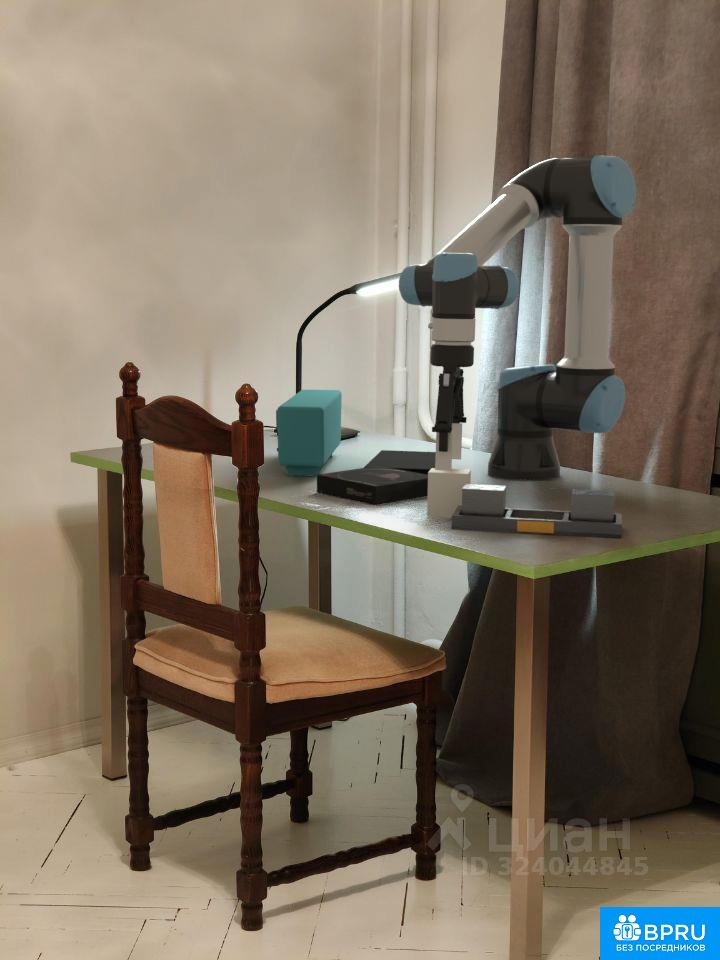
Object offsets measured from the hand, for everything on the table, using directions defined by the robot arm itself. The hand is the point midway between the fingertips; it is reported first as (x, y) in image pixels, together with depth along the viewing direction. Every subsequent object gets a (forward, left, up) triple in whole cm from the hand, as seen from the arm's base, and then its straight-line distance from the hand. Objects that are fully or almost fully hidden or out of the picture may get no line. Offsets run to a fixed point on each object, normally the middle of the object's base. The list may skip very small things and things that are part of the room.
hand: (448, 464), depth 216 cm
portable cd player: (-17, -16, -10) cm, 25 cm away
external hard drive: (-43, -15, -10) cm, 47 cm away
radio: (-46, -37, -9) cm, 59 cm away
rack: (+7, +16, -9) cm, 20 cm away
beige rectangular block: (0, 0, -9) cm, 9 cm away
